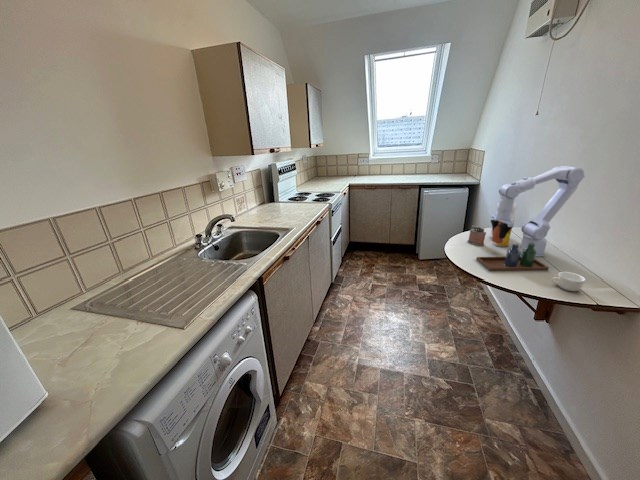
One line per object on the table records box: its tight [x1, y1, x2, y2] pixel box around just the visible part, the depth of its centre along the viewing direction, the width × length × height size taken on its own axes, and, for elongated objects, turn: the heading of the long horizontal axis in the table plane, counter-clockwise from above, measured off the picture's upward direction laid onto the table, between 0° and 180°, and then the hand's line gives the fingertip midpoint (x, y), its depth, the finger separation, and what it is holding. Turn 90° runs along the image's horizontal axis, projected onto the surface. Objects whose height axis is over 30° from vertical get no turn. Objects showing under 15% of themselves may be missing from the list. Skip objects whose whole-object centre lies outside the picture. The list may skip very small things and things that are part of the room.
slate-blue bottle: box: [504, 242, 521, 267], centre depth 122 cm, size 5×5×10 cm
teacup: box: [550, 271, 586, 292], centre depth 105 cm, size 10×8×5 cm
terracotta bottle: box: [491, 221, 504, 244], centre depth 132 cm, size 5×5×10 cm
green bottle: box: [519, 243, 537, 267], centre depth 122 cm, size 5×5×10 cm
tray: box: [475, 255, 550, 272], centre depth 124 cm, size 26×12×2 cm, turn 88°
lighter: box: [467, 225, 487, 247], centre depth 147 cm, size 8×3×10 cm, turn 40°
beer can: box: [494, 219, 514, 248], centre depth 143 cm, size 6×6×15 cm
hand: (498, 235), depth 132 cm, fingers closed on terracotta bottle, 5 cm apart
